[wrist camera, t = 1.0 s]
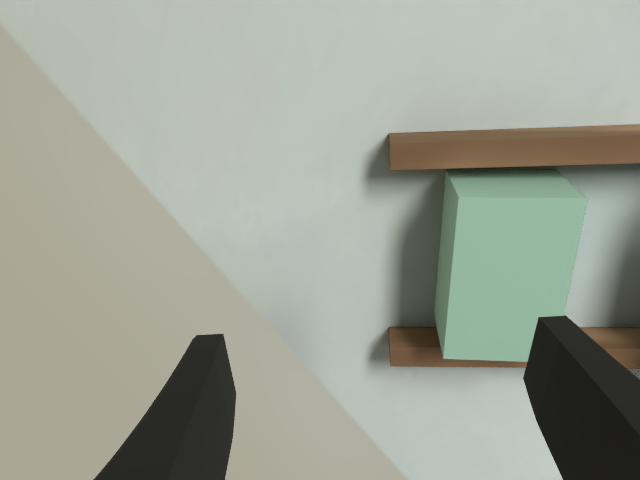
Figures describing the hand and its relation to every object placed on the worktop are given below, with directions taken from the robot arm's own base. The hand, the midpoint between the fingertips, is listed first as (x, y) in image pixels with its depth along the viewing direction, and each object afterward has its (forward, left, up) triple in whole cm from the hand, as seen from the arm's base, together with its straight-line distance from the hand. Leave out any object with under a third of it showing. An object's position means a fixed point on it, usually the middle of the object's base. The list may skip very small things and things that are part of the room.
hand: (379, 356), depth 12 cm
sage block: (-4, -6, -14) cm, 16 cm away
